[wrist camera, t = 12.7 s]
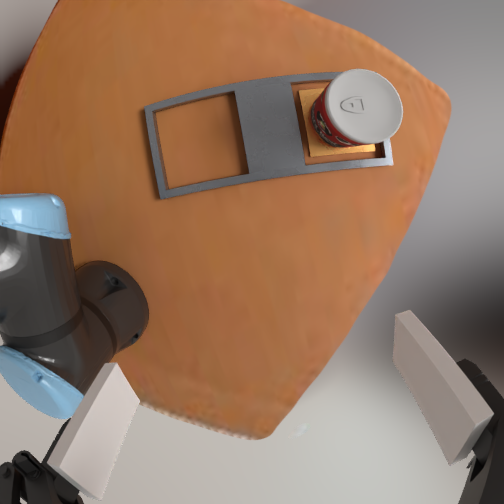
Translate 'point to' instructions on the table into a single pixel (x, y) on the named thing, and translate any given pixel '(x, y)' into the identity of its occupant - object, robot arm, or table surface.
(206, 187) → the rail frame
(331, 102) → the canned food
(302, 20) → the table surface
